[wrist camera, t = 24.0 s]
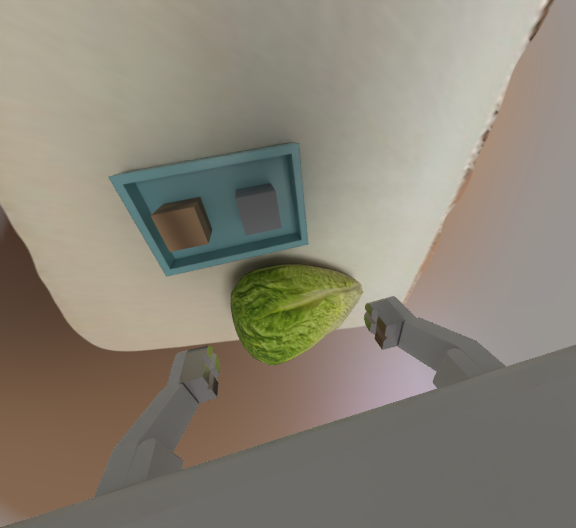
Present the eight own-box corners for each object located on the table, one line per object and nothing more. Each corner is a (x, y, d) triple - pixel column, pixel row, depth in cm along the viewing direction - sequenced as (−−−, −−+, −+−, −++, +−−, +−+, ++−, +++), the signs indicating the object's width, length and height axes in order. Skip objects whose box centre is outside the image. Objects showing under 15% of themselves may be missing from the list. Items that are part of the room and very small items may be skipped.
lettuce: (335, 235, 43) (319, 289, 53) (218, 264, 32) (225, 325, 41) (395, 279, 34) (362, 334, 44) (260, 342, 22) (257, 398, 32)
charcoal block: (270, 183, 30) (275, 190, 25) (276, 216, 32) (281, 227, 28) (235, 189, 29) (235, 198, 25) (244, 222, 32) (245, 235, 28)
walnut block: (200, 196, 29) (193, 206, 24) (212, 229, 31) (208, 243, 27) (163, 203, 28) (150, 215, 24) (179, 236, 31) (169, 252, 27)
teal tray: (291, 142, 28) (298, 143, 25) (302, 234, 36) (308, 244, 33) (124, 171, 26) (108, 176, 23) (173, 262, 34) (166, 276, 31)
